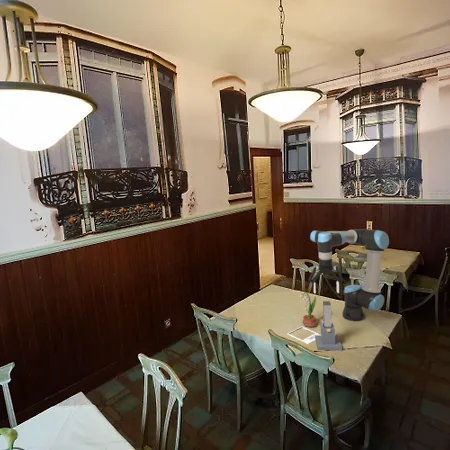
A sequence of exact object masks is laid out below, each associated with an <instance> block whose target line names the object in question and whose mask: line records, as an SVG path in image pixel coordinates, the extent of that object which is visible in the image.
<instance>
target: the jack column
mask: <svg viewBox="0 0 450 450" xmlns="http://www.w3.org/2000/svg"><path fill="white" fill-rule="evenodd" d="M322 313H323V315H322V316H323V323H324V328H331V323H332V306H331V302H330V300H328V301H327V300H325V301H322Z"/></svg>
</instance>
